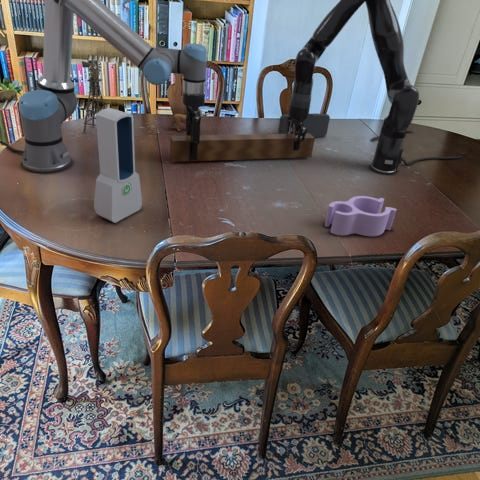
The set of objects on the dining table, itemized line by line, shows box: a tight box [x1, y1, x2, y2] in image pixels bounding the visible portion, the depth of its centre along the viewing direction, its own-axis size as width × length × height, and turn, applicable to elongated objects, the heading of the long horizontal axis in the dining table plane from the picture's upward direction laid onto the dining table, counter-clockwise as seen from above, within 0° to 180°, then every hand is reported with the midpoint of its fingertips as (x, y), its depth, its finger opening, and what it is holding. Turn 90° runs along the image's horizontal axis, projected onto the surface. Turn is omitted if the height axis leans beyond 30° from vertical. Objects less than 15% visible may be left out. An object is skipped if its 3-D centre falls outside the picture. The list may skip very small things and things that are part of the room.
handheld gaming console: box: [277, 113, 331, 138], centre depth 203 cm, size 23×3×10 cm, turn 108°
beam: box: [169, 133, 316, 163], centre depth 176 cm, size 55×5×8 cm, turn 107°
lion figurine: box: [167, 108, 203, 132], centre depth 197 cm, size 15×5×9 cm, turn 110°
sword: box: [371, 131, 411, 142], centre depth 217 cm, size 31×3×1 cm, turn 126°
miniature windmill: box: [81, 53, 107, 133], centre depth 181 cm, size 9×8×30 cm
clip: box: [324, 195, 398, 237], centre depth 141 cm, size 20×12×7 cm, turn 109°
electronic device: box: [93, 107, 143, 224], centre depth 129 cm, size 12×8×30 cm, turn 148°
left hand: (191, 156), depth 172 cm, fingers closed on beam, 5 cm apart
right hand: (293, 147), depth 182 cm, fingers closed on beam, 5 cm apart
